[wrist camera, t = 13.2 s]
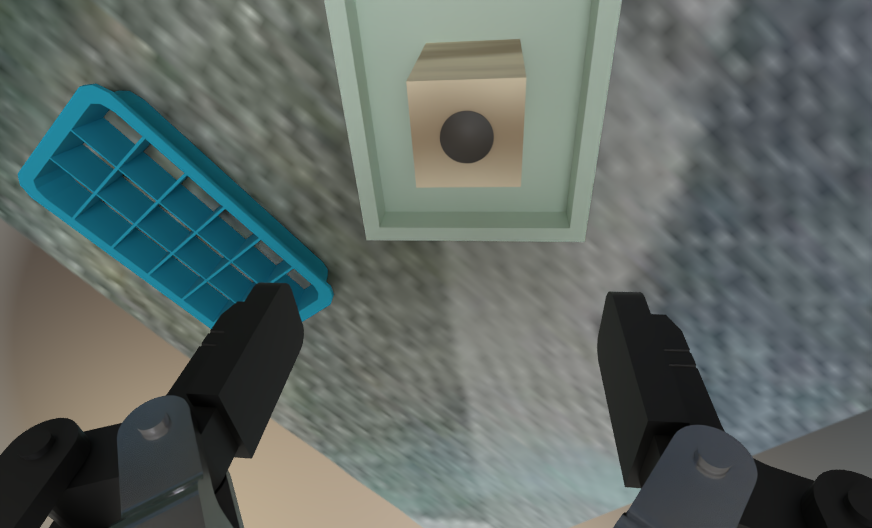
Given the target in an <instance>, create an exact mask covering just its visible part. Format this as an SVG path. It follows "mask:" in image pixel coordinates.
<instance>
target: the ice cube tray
mask: <svg viewBox="0 0 872 528" xmlns="http://www.w3.org/2000/svg"><path fill="white" fill-rule="evenodd" d="M109 109H110V110H112V111H113V112H115V113H116V114H117V115H118V116H120V117H121V118H122V119H123V120H124V121H125V122H126V123H128V124H129V125H130V126H131V127H132V128H133V129H135V130H136V131H137V132H138V133H139V134H140V135H141V136H142V138H141V139H140V140H139V141H138V142H137V143H136V144H134V143H133V142H131V141H130V140H129V139H128V138H127V137H126V136H124V135H123V134H122V133H121V132H120V131H119V130H117V129H116V128H115V127H114V126H113V125H112V124H110V123H109V122H108V121H107V120H106V119H105V118H103V117H104V116H105V115H106V113H107V112H108V111H109ZM84 142H85V143H86V144H87V145H89V146H90V147H91V148H92V149H93V150H95V151H96V152H97V153H98V154H99V155H101V156H102V157H103V158H104V159H106V160H107V161H108V162H109V163H110V164H112V165H113V166H114V167H115V169H114V170H113V169H112V168H111V167H110V166H108V165H107V164H106V163H105V162H104V161H102V160H101V159H100V158H99V157H97V156H96V155H95V154H94V153H93V152H91V151H90V150H89V149H88V148H86V147H85V146H84V145H83V143H84ZM150 143H151V144H152V145H153V146H154V147H155V148H156V149H157V150H159V151H160V152H161V153H162V154H163V155H164V156H165V157H167V158H168V159H169V160H170V161H171V162H172V163H173V164H175V165H176V166H177V167H178V168H179V169H180V170H181V171H183V172H184V174H183V175H182V176H181V177H180V178H179V179H178V180H176V179H175V178H173V177H172V176H171V175H170V174H169V173H168V172H166V171H165V170H164V169H163V168H162V167H161V166H159V165H158V164H157V163H156V162H155V161H154V160H152V159H151V158H150V157H149V156H148V155H147V154H145V153H144V152H143V151H144V150H145V149H146V148H147V147H148V146H149V145H150ZM123 174H124V175H125V176H126V177H128V178H129V179H130V180H131V181H132V182H134V183H135V184H136V185H137V186H139V187H140V188H141V189H142V190H143V191H145V192H146V193H147V194H148V195H150V196H151V197H152V198H153V199H154V200H156V202H155V203H154V202H153V201H151V200H150V199H149V198H148V197H147V196H145V195H144V194H143V193H142V192H140V191H139V190H138V189H137V188H135V187H134V186H133V185H132V184H131V183H129V182H128V181H127V180H126V179H124V178H123V177H122V175H123ZM73 177H74V178H75V179H76V180H78V181H79V182H80V183H81V184H83V185H84V186H85V187H87V188H88V189H89V190H90V191H92V192H93V194H92V193H90V192H89V191H88V190H86V189H85V188H84V187H82V186H81V185H80V184H79V183H77V182H76V181H75V179H74V178H73ZM187 177H190V178H191V179H192V180H193V181H194V182H195V183H196V184H198V185H199V186H200V187H201V188H202V189H203V190H204V191H206V192H207V193H208V194H209V195H210V196H211V197H212V198H214V199H215V200H216V201H217V202H218V203H219V204H220V205H221V206H219V207H218V208H217V209H216V210H215V211H214V212H213V211H212V210H211V209H210V208H208V207H207V206H206V205H205V204H204V203H203V202H201V201H200V200H199V199H198V198H197V197H196V196H194V195H193V194H192V193H191V192H190V191H189V190H187V189H186V188H185V187H184V186H183V185H182V184H181V183H182V182H183V181H184V180H185V179H186V178H187ZM18 178H19V183H20V185H21V187H22V188H23V189H24V190H25V191H26V192H27V193H28V195H29V196H30V197H31V198H33V199H34V200H35V201H37V202H38V203H39V204H41V205H42V206H43V207H45V208H46V209H48V210H49V211H50V212H52V213H53V214H54V215H56V216H57V217H59V218H60V219H61V220H63V221H64V222H65V223H67V224H68V225H69V226H71V227H72V228H74V229H75V230H76V231H78V232H79V233H80V234H82V235H83V236H85V237H86V238H87V239H89V240H90V241H91V242H93V243H94V244H95V245H97V246H98V247H100V248H101V249H102V250H104V251H105V252H106V253H108V254H109V255H111V256H112V257H113V258H115V259H116V260H117V261H119V262H120V263H121V264H123V265H124V266H126V267H127V268H128V269H130V270H131V271H132V272H134V273H135V274H136V275H138V276H139V277H141V278H142V279H143V280H145V281H146V282H147V283H149V284H150V285H152V286H153V287H154V288H156V289H157V290H158V291H160V292H161V293H162V294H164V295H165V296H167V297H168V298H169V299H171V300H172V301H173V302H175V303H176V304H178V305H179V306H180V307H182V308H183V309H184V310H186V311H187V312H188V313H190V314H191V315H193V316H194V317H195V318H197V319H198V320H199V321H201V322H202V323H204V324H205V325H206V326H208V327H209V328H210V329H212V327H213V326H214V324H215V323H216V321H217V320H218V318H219V317H220V315H221V314H222V313H224V312H225V311H226V310H227V309H229V308H230V307H231V306H232V305H234V304H235V303H236V302H237V301H245V299H246V298H247V296H248V295H249V293H250V292H251V290H252V288H253V287H254V286H255V285H256V284H257V283H259V282H264V283H287V284H289V285H290V287H291V289H292V292H293V295H294V299H295V302H296V305H297V308H298V311H299V314H300V317H301V321H302V322H303V321H304V320H306V319H308V318H309V317H311V316H313V315H314V314H316V313H317V312H319V311H321V310H322V309H324V308H326V307H327V306H329V305H330V304H331V302H332V299H333V295H334V293H333V290H332V287H331V286H330V285H329V284H328V283H327V282H326V281H327V277H328V270H327V268H326V266H325V264H324V263H323V262H322V261H321V260H320V259H319V258H318V257H317V256H315V255H314V254H313V253H312V252H311V251H310V250H309V249H308V248H307V247H306V246H304V245H303V244H302V243H301V242H300V241H299V240H298V239H297V238H296V237H295V236H293V235H292V234H291V233H290V232H289V231H288V230H287V229H286V228H285V227H284V226H282V225H281V224H280V223H279V222H278V221H277V220H276V219H275V218H274V217H273V216H271V215H270V214H269V213H268V212H267V211H266V210H265V209H264V208H263V207H262V206H260V205H259V204H258V203H257V202H256V201H255V200H254V199H253V198H252V197H251V196H249V195H248V194H247V193H246V192H245V191H244V190H243V189H242V188H241V187H240V186H238V185H237V184H236V183H235V182H234V181H233V180H232V179H231V178H230V177H229V176H227V175H226V174H225V173H224V172H223V171H222V170H221V169H220V168H219V167H218V166H216V165H215V164H214V163H213V162H212V161H211V160H210V159H209V158H208V157H207V156H205V155H204V154H203V153H202V152H201V151H200V150H199V149H198V148H197V147H196V146H194V145H193V144H192V143H191V142H190V141H189V140H188V139H187V138H186V137H185V136H183V135H182V134H181V133H180V132H179V131H178V130H177V129H176V128H175V127H174V126H172V125H171V124H170V123H169V122H168V121H167V120H166V119H165V118H164V117H163V116H161V115H160V114H159V113H158V112H157V111H156V110H155V109H154V108H153V107H152V106H150V105H149V104H148V103H147V102H146V101H145V100H144V99H142V98H140V97H139V96H137V95H136V94H134V93H132V92H131V91H116V92H112V91H110V90H108V89H106V88H104V87H102V86H100V85H98V84H89V85H82V86H80V87H79V88H78V89H77V91H76V92H75V94H74V95H73V96H72V98H71V99H70V101H69V102H68V103H67V105H66V106H65V108H64V109H63V111H62V112H61V113H60V115H59V116H58V118H57V119H56V120H55V122H54V123H53V125H52V126H51V127H50V129H49V130H48V132H47V133H46V134H45V136H44V137H43V139H42V140H41V142H40V143H39V144H38V146H37V147H36V149H35V150H34V151H33V153H32V154H31V156H30V157H29V158H28V160H27V161H26V163H25V164H24V165H23V167H22V168H21V170H20V171H19V173H18ZM100 199H102V200H103V201H104V202H106V203H107V204H108V205H110V206H111V207H112V208H113V209H115V210H116V211H117V212H119V213H120V214H121V215H122V216H124V217H125V218H126V219H128V220H129V221H130V222H131V223H133V225H132V224H130V223H129V222H128V221H126V220H125V219H124V218H122V217H121V216H120V215H119V214H117V213H116V212H115V211H113V210H112V209H111V208H110V207H108V206H107V205H106V204H104V203H103V202H102V201H101V200H100ZM159 205H162V206H163V207H164V208H165V209H167V210H168V211H169V212H170V213H171V214H173V215H174V216H175V217H176V218H178V219H179V220H180V221H181V222H182V223H184V224H185V225H186V226H187V227H189V228H190V229H191V230H192V231H191V232H189V231H188V230H187V229H186V228H185V227H183V226H182V225H181V224H180V223H178V222H177V221H176V220H175V219H174V218H172V217H171V216H170V215H169V214H167V213H166V212H165V211H164V210H162V209H161V208H160V207H159ZM224 209H226V210H227V211H228V212H230V213H231V214H232V215H233V216H234V217H235V218H237V219H238V220H239V221H240V222H241V223H242V224H243V225H245V226H246V227H247V228H248V229H249V230H250V231H251V232H253V233H254V234H252V235H251V236H250V237H249V238H247V239H245V238H243V237H242V236H241V235H240V234H239V233H238V232H236V231H235V230H234V229H233V228H232V227H231V226H229V225H228V224H227V223H226V222H225V221H224V220H222V219H221V218H220V217H219V216H218V215H219V214H220V213H221V212H222V211H223V210H224ZM136 227H138V228H139V229H140V230H142V231H143V232H144V233H146V234H147V235H148V236H149V237H151V238H152V239H153V240H155V241H156V242H157V243H158V244H160V245H161V246H162V247H164V248H165V249H166V250H167V251H169V252H166V251H165V250H164V249H162V248H161V247H160V246H159V245H157V244H156V243H155V242H153V241H152V240H151V239H150V238H148V237H147V236H146V235H144V234H143V233H142V232H141V231H139V230H138V229H137V228H136ZM196 234H197V235H198V236H200V237H201V238H202V239H203V240H204V241H206V242H207V243H208V244H209V245H211V246H212V247H213V248H214V249H215V250H217V251H218V252H219V253H220V254H221V255H223V256H224V258H221V257H220V256H219V255H218V254H216V253H215V252H214V251H213V250H212V249H210V248H209V247H208V246H207V245H205V244H204V243H203V242H202V241H201V240H199V239H198V238H197V237H196V236H195V235H196ZM260 240H262V241H263V242H264V243H265V244H266V245H267V246H269V247H270V248H271V249H272V250H273V251H274V252H275V253H277V254H278V255H279V256H280V257H281V258H282V259H283V261H282V262H281V263H279V264H278V265H275V264H274V263H273V262H271V261H270V260H269V259H268V258H267V257H266V256H264V255H263V254H262V253H261V252H260V251H259V250H257V249H256V248H255V247H254V246H253V245H255V244H256V243H257V242H259V241H260ZM172 255H174V256H175V257H176V258H178V259H179V260H180V261H182V262H183V263H184V264H185V265H187V266H188V267H189V268H191V269H192V270H193V271H194V272H196V273H197V274H198V275H200V277H199V276H197V275H196V274H195V273H193V272H192V271H191V270H190V269H188V268H187V267H186V266H184V265H183V264H182V263H181V262H179V261H178V260H177V259H175V258H174V257H173V256H172ZM230 263H232V264H234V265H235V266H236V267H237V268H239V269H240V270H241V271H242V272H243V273H245V274H246V275H247V276H248V277H250V278H251V279H252V280H253V281H254V282H253V283H252V282H251V281H250V280H248V279H247V278H246V277H245V276H243V275H242V274H241V273H240V272H239V271H237V270H236V269H235V268H234V267H232V266H231V265H230ZM292 269H295V270H296V271H297V272H298V273H300V274H301V275H302V276H303V277H304V278H305V279H306V280H308V281H309V282H310V283H311V284H312V285H310V286H309V287H307V288H306V289H303V288H302V287H301V286H299V285H298V284H297V283H296V282H295V281H294V280H292V279H291V278H290V277H289V276H288V275H287V274H286V273H288V272H289V271H291V270H292ZM206 282H209V283H210V284H211V285H212V286H214V287H215V288H216V289H218V290H219V291H220V292H221V293H223V294H224V295H225V296H226V297H228V298H229V300H228V299H227V298H226V297H224V296H223V295H222V294H221V293H219V292H218V291H217V290H215V289H214V288H213V287H212V286H210V285H209V284H208V283H206Z"/></svg>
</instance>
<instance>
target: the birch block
mask: <svg viewBox="0 0 872 528" xmlns="http://www.w3.org/2000/svg"><path fill="white" fill-rule="evenodd" d="M406 85H407V95H408V106H409V116H410V127H411V137H412V148H413V158H414V169H415V179H416V188H432V187H521V175H522V155H523V136H524V116H525V97H526V72H525V66H524V60H523V54H522V48H521V42H520V39H508V40H484V41H461V42H437V43H426V44H425V46H424V48H423V50H422V52H421V54H420V56H419V57H418V59H417V61H416V63H415V65H414V67H413V69H412V71H411V73H410V75H409V77H408V79H407V81H406Z"/></svg>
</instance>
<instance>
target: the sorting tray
mask: <svg viewBox="0 0 872 528" xmlns="http://www.w3.org/2000/svg"><path fill="white" fill-rule="evenodd" d="M324 2H325V8H326V13H327V19H328V25H329V30H330V36H331V42H332V47H333V53H334V59H335V64H336V70H337V76H338V81H339V87H340V92H341V98H342V104H343V109H344V115H345V121H346V126H347V132H348V138H349V143H350V149H351V155H352V160H353V166H354V172H355V177H356V183H357V189H358V194H359V200H360V206H361V211H362V217H363V222H364V228H365V234H366V239H367V240H406V241H522V242H585V236H586V229H587V223H588V216H589V210H590V204H591V197H592V191H593V184H594V178H595V171H596V165H597V158H598V152H599V145H600V139H601V132H602V126H603V119H604V113H605V106H606V100H607V93H608V87H609V81H610V74H611V68H612V61H613V55H614V48H615V42H616V35H617V29H618V22H619V16H620V9H621V3H622V0H324ZM508 39H520V42H521V48H522V54H523V60H524V66H525V72H526V97H525V116H524V136H523V155H522V175H521V187H432V188H416V179H415V169H414V158H413V148H412V137H411V127H410V116H409V106H408V95H407V85H406V81H407V79H408V77H409V75H410V73H411V71H412V69H413V67H414V65H415V63H416V61H417V59H418V57H419V56H420V54H421V52H422V50H423V48H424V46H425V44H426V43H437V42H461V41H484V40H508Z"/></svg>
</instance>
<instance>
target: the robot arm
mask: <svg viewBox="0 0 872 528" xmlns="http://www.w3.org/2000/svg"><path fill="white" fill-rule="evenodd" d="M210 331H211V332H210V334H209V333H208V335H207V336H206V337H205V339H204V340H203V342H202V346H199V348H198V349H197V351H196V352H195V354H194V355H193V357H192V358H191V360H190V361H189V363H188V364H187V366H186V367H185V369H184V370H183V371H182V373H181V375H180V376H179V377H178V379H177V381H176V382H175V383H174V385H173V386H172V388H171V389H170V391H169V392H168V394H167V395H166V396H162V397H158V398H154V399H152V400H149V401H147V402H145V403H144V404H142V405H140V406H139V407H138V408H136V409H135V410H133V411H132V412H131V413H130V414H129V415H128V416H127V417H126V419H125V420H124V421H123V423H120V424H115V425H111V426H107V427H102V428H98V429H93V430H89V431H85V432H83V431H82V430H81V429H80V427H79V426H78V425H77V424H76V423H75V422H74V421H73V420H71V419H68V418H56V419H51V420H48V421H44V422H42V423H40V424H37V425H35V426H34V427H32V428H30V429H28V430H27V431H25V432H23V433H22V434H21V435H20V436H18V437H17V438H16V439H15V440H14V441H12V443H11V444H10V445H9V446H8V447H7V448H6V449H5V450H4V451H3V453H2V454H1V455H0V528H40V527H41V525H42V524H43V522H44V521H45V519H46V518H47V516H49V517H50V518H51V519H53V520H54V521H53V522H52V524H51V525H50V527H49V528H244V525H243V522H242V518H241V514H240V511H239V506H238V503H237V498H236V495H235V491H234V487H233V483H232V479H231V476H230V473H229V471H228V468H229V466H230V464H231V462H232V460H233V458H234V457H238V458H252V457H253V455H254V453H255V450H256V448H257V446H258V444H259V441H260V439H261V437H262V435H263V432H264V430H265V428H266V426H267V424H268V421H269V419H270V417H271V415H272V412H273V410H274V408H275V406H276V403H277V401H278V399H279V397H280V394H281V392H282V390H283V388H284V386H285V383H286V381H287V379H288V377H289V374H290V372H291V370H292V368H293V365H294V363H295V361H296V359H297V356H298V354H299V352H300V350H301V347H302V344H303V338H304V329H303V324H302V321H301V317H300V314H299V311H298V308H297V305H296V302H295V299H294V295H293V292H292V289H291V287H290V285H289V284H287V283H264V282H259V283H257V284H256V285H255V286H254V287H253V288H252V290H251V292H250V293H249V295H248V296H247V298H246V299H245V301H237V302H236V303H235V304H234V305H232V306H231V307H230V308H229V309H227V310H226V311H225V312H224V313H222V314H221V315H220V317H219V318H218V320H217V321H216V323H215V324H214V326H213V327H212V329H211V330H210ZM689 350H690V349H689V347H688V345H687V342H686V340H685V337H684V335H683V333H682V331H681V330H680V329H679V328H678V327H677V326H676V325H675V324H674V323H673V322H672V321H671V320H670V319H669V318H668V317H667V316H666V315H657V314H651V313H650V310H649V308H648V305H647V302H646V299H645V297H644V295H643V293H641V292H608V294H607V296H606V300H605V305H604V310H603V315H602V320H601V325H600V330H599V334H598V343H597V352H598V361H599V366H600V371H601V376H602V381H603V385H604V390H605V395H606V399H607V404H608V409H609V414H610V418H611V423H612V428H613V433H614V437H615V442H616V447H617V452H618V456H619V461H620V466H621V470H622V475H623V480H624V485H625V487H632V488H641V490H640V492H639V494H638V495H637V497H636V499H635V500H634V502H633V503H632V505H631V507H630V508H629V510H628V511H627V512H626V513H623V514H622V516H621V517H620V518H619V520H618V521H617V523H616V524H615V526H614V528H872V479H871V478H869V477H867V476H864V475H862V474H858V473H856V472H852V471H846V470H830V471H826V472H824V473H822V474H821V475H819V476H818V478H817V479H816V480H815V481H813V480H810V479H807V478H804V477H801V476H798V475H795V474H792V473H789V472H786V471H783V470H780V469H777V468H774V467H771V466H769V465H766V464H764V463H762V462H760V461H758V460H756V459H754V458H752V456H751V454H750V453H749V452H748V450H747V449H746V448H745V447H744V446H743V445H742V444H741V443H740V442H739V441H738V440H736V439H735V438H734V437H732V436H731V435H729V434H728V433H726V432H725V431H724V429H723V427H722V425H721V423H720V421H719V418H718V416H717V414H716V411H715V409H714V406H713V404H712V402H711V399H710V397H709V394H708V392H707V390H706V387H705V385H704V383H703V380H702V378H701V375H700V373H699V371H698V369H697V368H696V364H695V361H694V359H693V356H692V354H691V353H690V352H689Z"/></svg>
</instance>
